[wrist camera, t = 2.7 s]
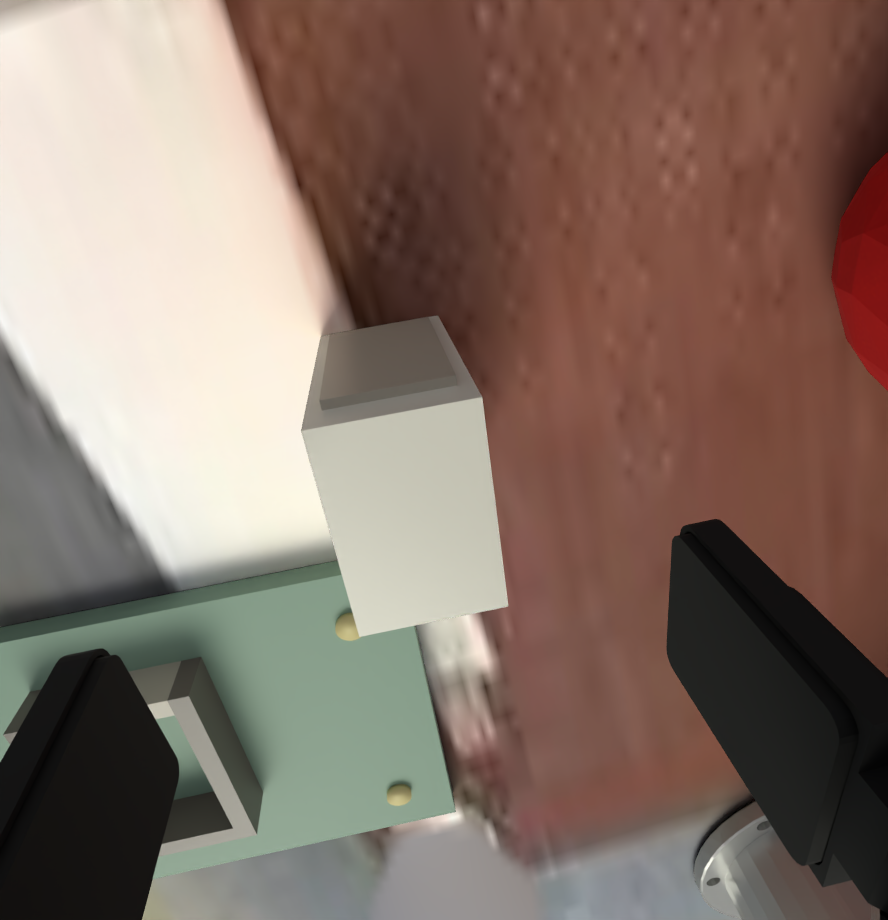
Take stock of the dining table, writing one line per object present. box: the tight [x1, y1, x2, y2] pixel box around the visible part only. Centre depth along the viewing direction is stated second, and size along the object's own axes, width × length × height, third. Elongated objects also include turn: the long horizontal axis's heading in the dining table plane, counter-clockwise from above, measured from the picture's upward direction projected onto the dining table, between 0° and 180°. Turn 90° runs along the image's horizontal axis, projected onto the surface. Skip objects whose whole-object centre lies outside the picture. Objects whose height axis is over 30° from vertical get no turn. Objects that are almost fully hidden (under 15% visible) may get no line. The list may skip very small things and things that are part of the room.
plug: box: [301, 315, 508, 637], centre depth 18 cm, size 4×6×8 cm, turn 9°
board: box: [0, 561, 456, 879], centre depth 27 cm, size 22×16×1 cm
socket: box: [3, 657, 263, 857], centre depth 25 cm, size 7×9×2 cm
